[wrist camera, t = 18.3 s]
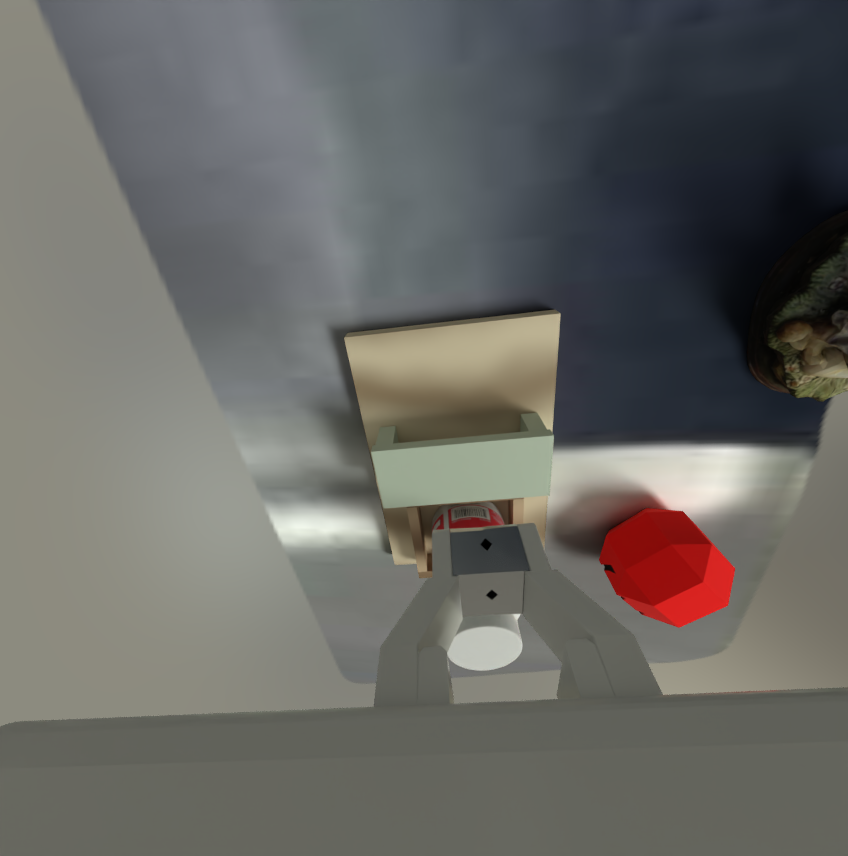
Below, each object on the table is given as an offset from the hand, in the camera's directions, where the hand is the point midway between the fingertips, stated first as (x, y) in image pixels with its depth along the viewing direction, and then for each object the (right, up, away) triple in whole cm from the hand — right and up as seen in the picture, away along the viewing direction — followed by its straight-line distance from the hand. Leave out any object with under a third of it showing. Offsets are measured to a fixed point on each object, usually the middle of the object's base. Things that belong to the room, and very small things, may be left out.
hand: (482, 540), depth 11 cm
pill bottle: (+2, -5, +21) cm, 21 cm away
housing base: (+1, +1, +19) cm, 19 cm away
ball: (+18, -6, +23) cm, 30 cm away
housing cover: (+1, +2, +17) cm, 17 cm away
